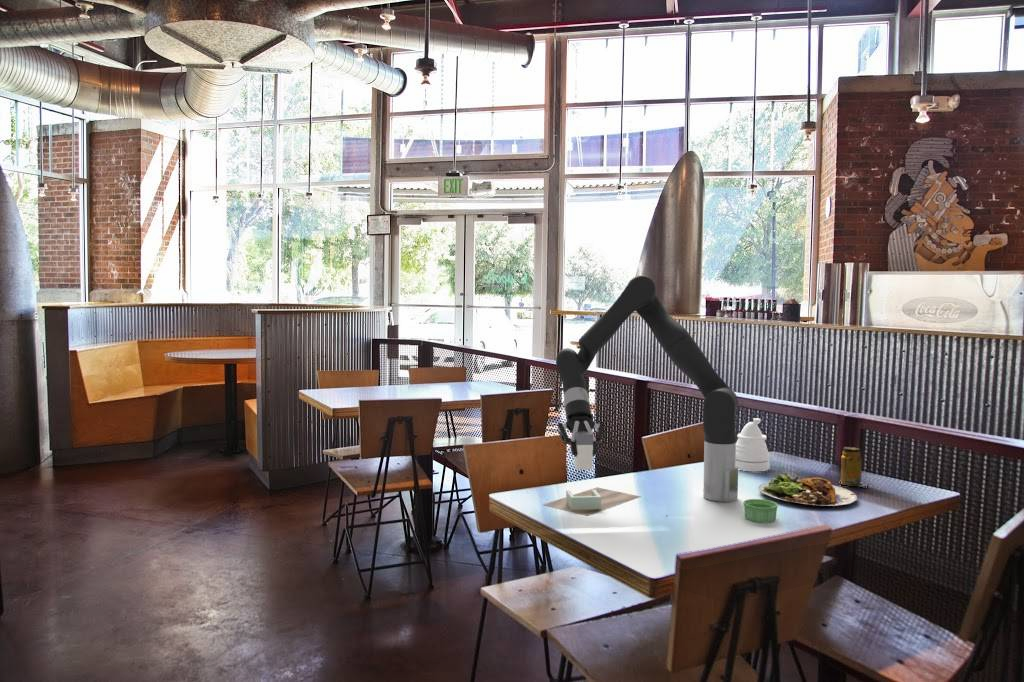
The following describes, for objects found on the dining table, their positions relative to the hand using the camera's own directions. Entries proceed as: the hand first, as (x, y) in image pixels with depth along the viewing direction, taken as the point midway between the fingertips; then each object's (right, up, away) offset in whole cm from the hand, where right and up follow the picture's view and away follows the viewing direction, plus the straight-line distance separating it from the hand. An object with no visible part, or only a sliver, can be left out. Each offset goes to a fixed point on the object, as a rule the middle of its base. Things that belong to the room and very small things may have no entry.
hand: (584, 454), depth 209 cm
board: (+3, -16, +8) cm, 18 cm away
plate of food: (+69, -16, +17) cm, 73 cm away
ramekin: (+48, -17, -5) cm, 51 cm away
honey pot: (+65, -14, +56) cm, 87 cm away
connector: (0, -4, +2) cm, 5 cm away
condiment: (+91, -15, +33) cm, 98 cm away
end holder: (0, -15, +3) cm, 15 cm away
